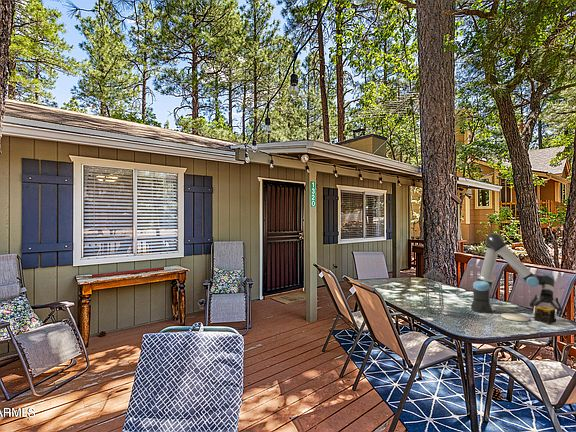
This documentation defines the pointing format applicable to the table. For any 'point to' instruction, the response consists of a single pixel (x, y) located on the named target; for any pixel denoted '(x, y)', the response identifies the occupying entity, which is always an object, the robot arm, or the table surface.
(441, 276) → the geometric lantern
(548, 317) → the mossy brown cube
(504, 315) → the saucer
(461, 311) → the table surface
